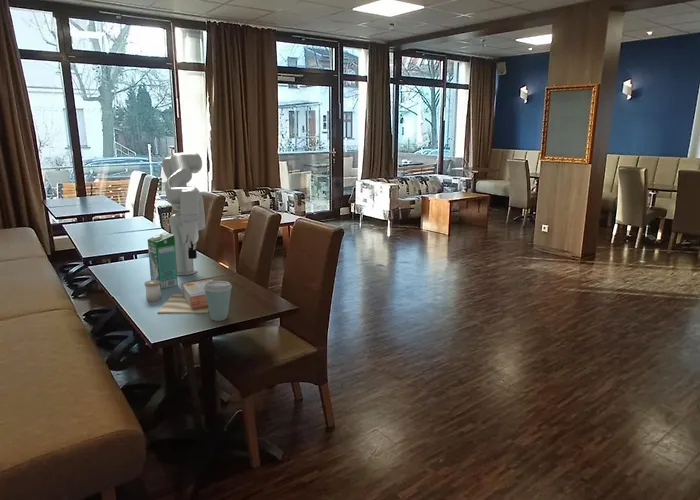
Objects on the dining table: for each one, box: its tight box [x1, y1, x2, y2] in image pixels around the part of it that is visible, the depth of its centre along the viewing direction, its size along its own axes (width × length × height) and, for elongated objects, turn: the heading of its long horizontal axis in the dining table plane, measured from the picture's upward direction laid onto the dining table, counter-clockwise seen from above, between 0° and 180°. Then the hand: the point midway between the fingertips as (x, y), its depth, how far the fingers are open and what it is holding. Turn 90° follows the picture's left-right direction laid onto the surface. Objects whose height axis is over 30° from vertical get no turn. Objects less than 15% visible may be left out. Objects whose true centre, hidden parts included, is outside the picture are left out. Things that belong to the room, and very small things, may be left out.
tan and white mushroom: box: [144, 279, 162, 302], centre depth 217 cm, size 7×7×8 cm
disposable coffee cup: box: [204, 280, 233, 322], centre depth 195 cm, size 11×11×15 cm
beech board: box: [157, 293, 209, 314], centre depth 213 cm, size 23×20×1 cm
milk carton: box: [147, 232, 179, 290], centre depth 234 cm, size 9×9×25 cm
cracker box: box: [180, 278, 215, 309], centre depth 216 cm, size 14×6×21 cm
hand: (192, 258), depth 219 cm, fingers closed
